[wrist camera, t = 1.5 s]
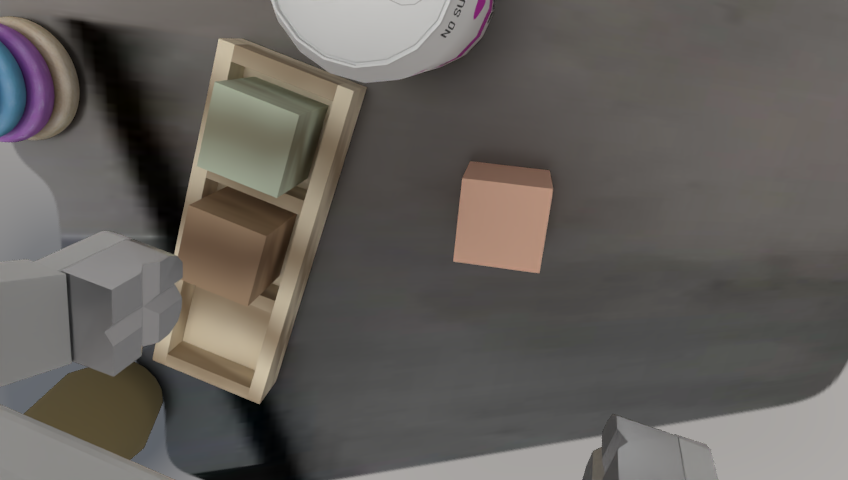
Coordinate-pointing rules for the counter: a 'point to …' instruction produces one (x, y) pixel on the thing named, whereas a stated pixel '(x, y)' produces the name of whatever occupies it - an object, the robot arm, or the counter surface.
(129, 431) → the squeeze bottle
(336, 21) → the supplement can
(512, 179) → the terracotta cube
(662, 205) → the counter surface
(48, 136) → the stacking toy
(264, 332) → the block rack
